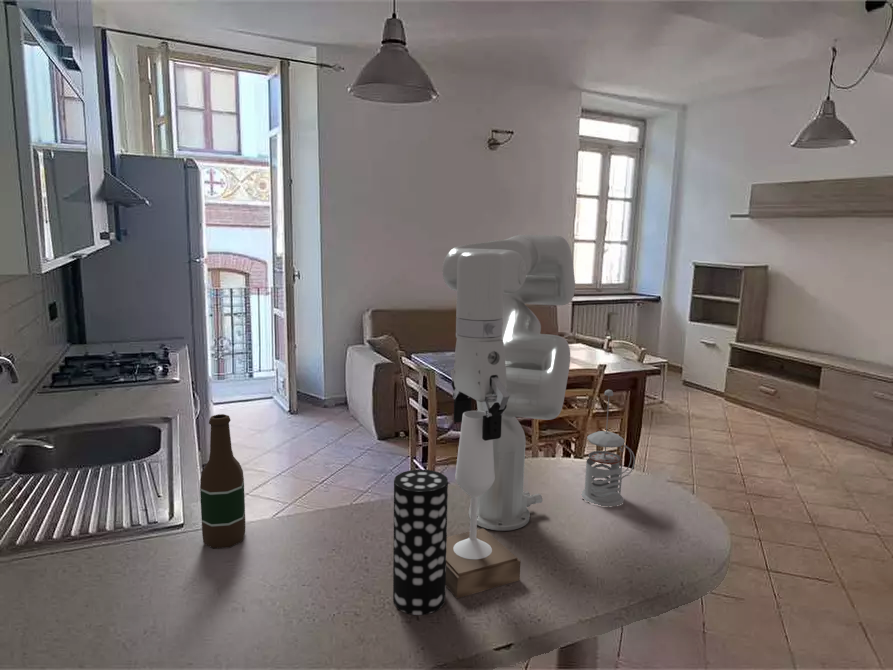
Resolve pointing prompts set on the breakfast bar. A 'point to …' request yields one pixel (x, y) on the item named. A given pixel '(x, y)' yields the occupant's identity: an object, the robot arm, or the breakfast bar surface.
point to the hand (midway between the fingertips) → (476, 429)
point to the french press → (601, 489)
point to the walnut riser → (479, 567)
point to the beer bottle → (222, 490)
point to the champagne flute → (474, 478)
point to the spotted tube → (420, 541)
